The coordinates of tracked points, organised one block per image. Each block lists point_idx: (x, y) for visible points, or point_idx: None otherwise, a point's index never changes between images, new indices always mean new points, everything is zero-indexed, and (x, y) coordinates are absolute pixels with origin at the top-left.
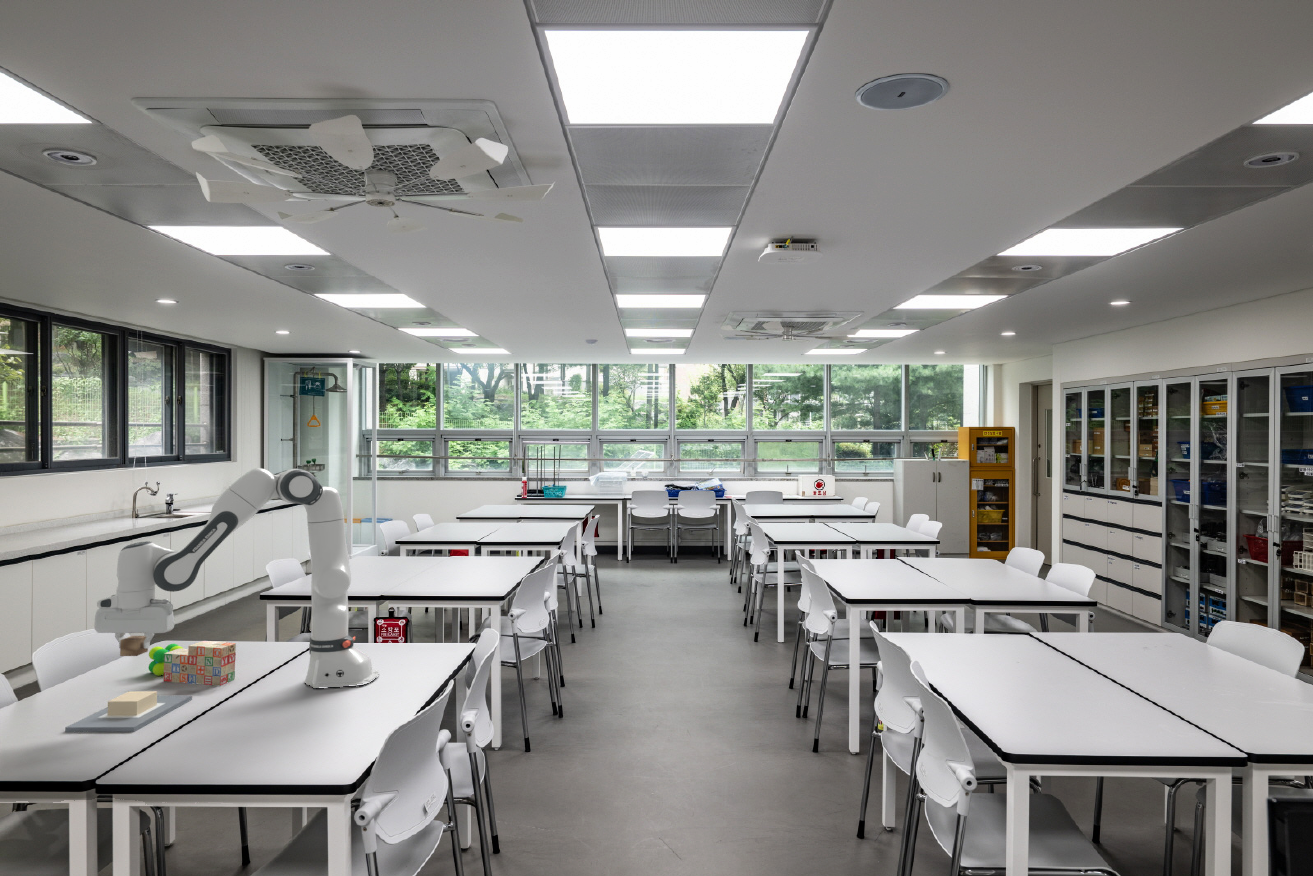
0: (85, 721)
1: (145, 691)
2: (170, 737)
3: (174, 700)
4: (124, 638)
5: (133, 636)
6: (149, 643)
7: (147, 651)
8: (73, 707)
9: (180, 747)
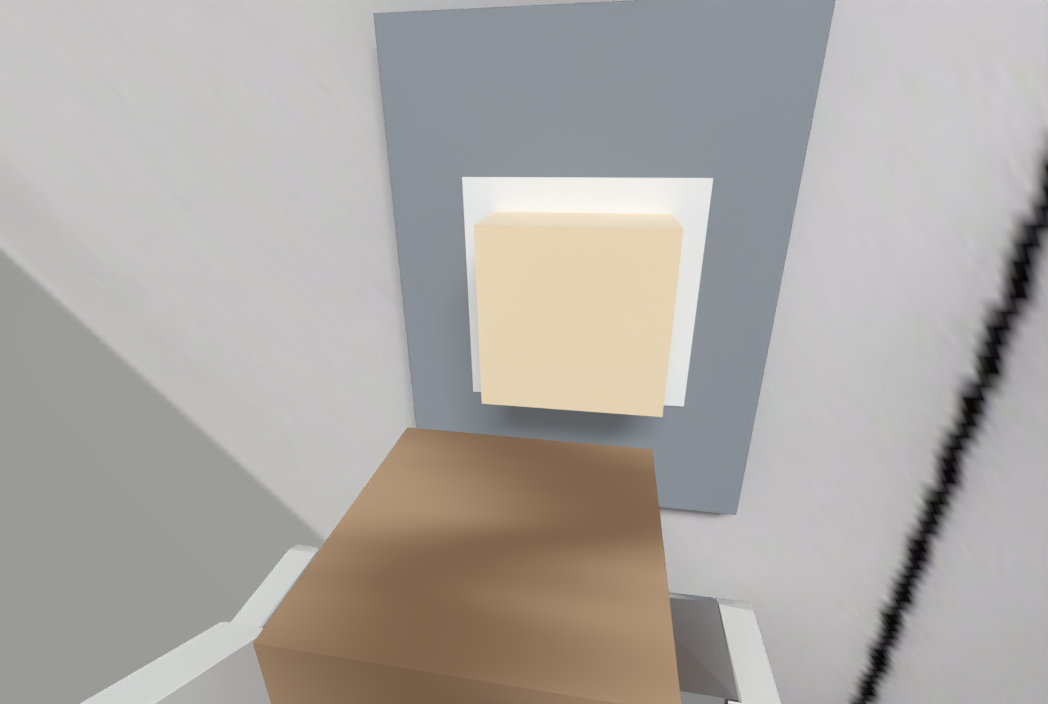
0: (451, 428)
1: (593, 226)
2: (945, 575)
3: (747, 117)
4: (213, 681)
5: (333, 698)
6: (767, 668)
7: (651, 454)
8: (180, 165)
9: (1037, 668)
